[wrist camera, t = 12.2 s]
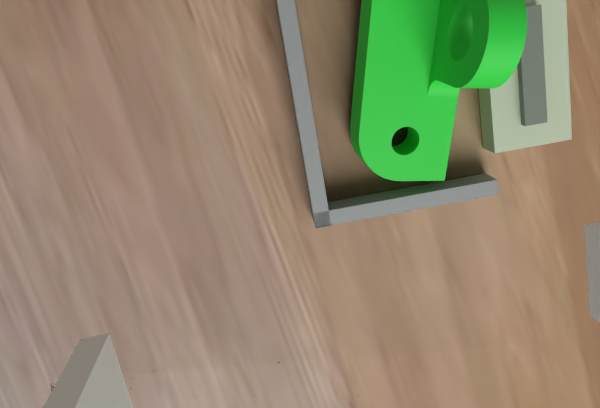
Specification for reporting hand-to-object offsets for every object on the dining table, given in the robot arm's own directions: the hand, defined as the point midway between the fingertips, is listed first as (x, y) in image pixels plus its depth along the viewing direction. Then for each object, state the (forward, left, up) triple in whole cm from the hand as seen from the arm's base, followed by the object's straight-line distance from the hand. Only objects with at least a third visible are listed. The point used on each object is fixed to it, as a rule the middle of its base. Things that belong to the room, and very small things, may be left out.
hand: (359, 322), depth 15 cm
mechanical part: (+7, +4, -22) cm, 24 cm away
